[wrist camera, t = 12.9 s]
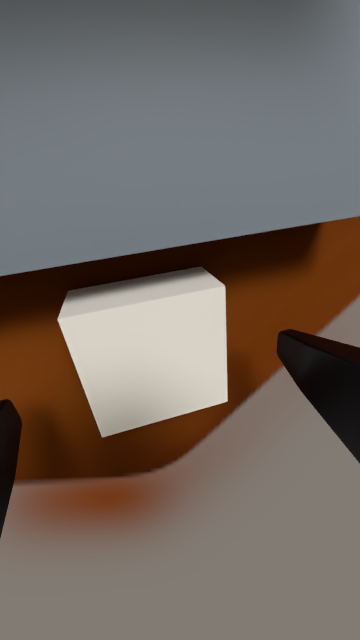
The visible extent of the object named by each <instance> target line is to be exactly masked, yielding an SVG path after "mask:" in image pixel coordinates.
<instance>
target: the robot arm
mask: <svg viewBox="0 0 360 640" xmlns="http://www.w3.org/2000/svg"><path fill="white" fill-rule="evenodd" d="M277 355H278V357H279V358H280V360H281V362H282V363H283V365H284V366H285V368H286V369H287V371H288V372H289V374H290V375H291V377H292V378H293V380H294V381H295V383H296V384H297V386H298V387H299V389H300V390H301V391H302V393H303V394H304V395H305V397H306V398H307V399H308V400H309V402H310V403H311V404H312V405H313V406H314V408H315V409H316V410H317V411H318V413H319V414H320V415H321V416H322V417H323V419H324V420H325V421H326V422H327V424H328V425H329V426H330V427H331V429H332V430H333V431H334V432H335V433H336V435H337V436H338V437H339V438H340V440H341V441H342V442H343V443H344V445H345V446H346V447H347V448H348V450H349V451H350V452H351V453H352V454H353V456H354V457H355V458H356V459H357V461H358V462H359V463H360V348H359V347H355V346H351V345H348V344H344V343H340V342H337V341H333V340H329V339H326V338H322V337H318V336H315V335H311V334H307V333H303V332H300V331H296V330H292V329H288V330H284V331H280V332H279V334H278V341H277ZM21 428H22V421H21V417H20V416H19V414H18V412H17V410H16V409H15V407H14V405H13V403H12V402H11V401H10V400H8V399H5V400H0V537H1V533H2V529H3V524H4V521H5V516H6V512H7V508H8V504H9V499H10V495H11V492H12V488H13V483H14V479H15V474H16V467H17V460H18V452H19V444H20V436H21Z"/></svg>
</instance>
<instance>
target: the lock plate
mask: <svg viewBox="0 0 360 640" xmlns="http://www.w3.org/2000/svg"><path fill="white" fill-rule="evenodd" d="M356 216H360V0H0V276H4V275H10V274H16V273H22V272H28V271H34V270H40V269H46V268H51V267H57V266H63V265H69V264H75V263H81V262H87V261H93V260H99V259H105V258H111V257H117V256H123V255H129V254H135V253H141V252H147V251H153V250H159V249H165V248H171V247H177V246H183V245H189V244H195V243H201V242H207V241H213V240H219V239H225V238H231V237H237V236H243V235H249V234H255V233H261V232H267V231H273V230H279V229H285V228H291V227H297V226H303V225H309V224H315V223H321V222H327V221H332V220H338V219H344V218H350V217H356Z"/></svg>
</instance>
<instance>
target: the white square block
mask: <svg viewBox="0 0 360 640" xmlns="http://www.w3.org/2000/svg"><path fill="white" fill-rule="evenodd" d="M58 322H59V324H60V327H61V330H62V332H63V335H64V338H65V340H66V343H67V346H68V348H69V351H70V354H71V356H72V359H73V362H74V364H75V367H76V370H77V372H78V375H79V378H80V380H81V383H82V386H83V388H84V391H85V394H86V396H87V399H88V402H89V404H90V407H91V410H92V412H93V415H94V417H95V420H96V423H97V425H98V428H99V431H100V433H101V436H102V437H106V436H109V435H113V434H116V433H120V432H123V431H127V430H130V429H134V428H137V427H141V426H144V425H148V424H151V423H155V422H158V421H162V420H165V419H169V418H172V417H176V416H179V415H183V414H186V413H190V412H193V411H197V410H200V409H204V408H207V407H211V406H214V405H218V404H221V403H225V402H228V399H227V349H226V299H225V285H224V284H222V283H221V282H220V281H219V280H217V279H216V278H215V277H214V276H212V275H211V274H210V273H209V272H207V271H206V270H205V269H204V268H202V267H195V268H190V269H184V270H179V271H173V272H168V273H162V274H157V275H151V276H146V277H141V278H135V279H130V280H124V281H119V282H113V283H108V284H102V285H97V286H91V287H86V288H80V289H75V290H69V291H68V292H67V294H66V297H65V300H64V303H63V305H62V308H61V311H60V314H59V317H58Z"/></svg>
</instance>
